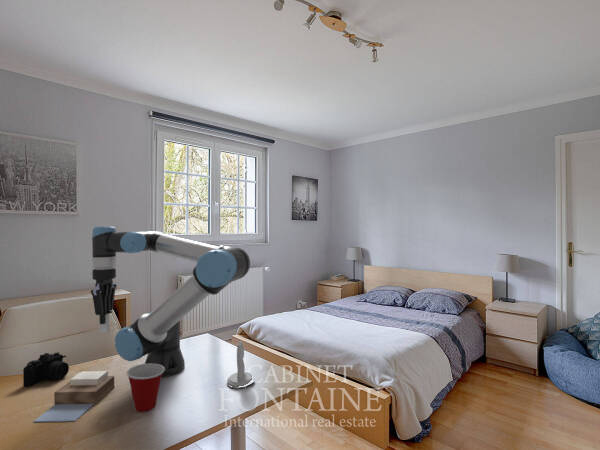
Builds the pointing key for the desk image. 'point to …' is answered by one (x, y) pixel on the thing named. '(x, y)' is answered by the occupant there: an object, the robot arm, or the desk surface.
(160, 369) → the plastic cup
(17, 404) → the desk surface
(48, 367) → the film camera
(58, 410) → the mat
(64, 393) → the brown wooden flat block
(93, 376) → the white rectangular block
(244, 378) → the grey stemmed stand
